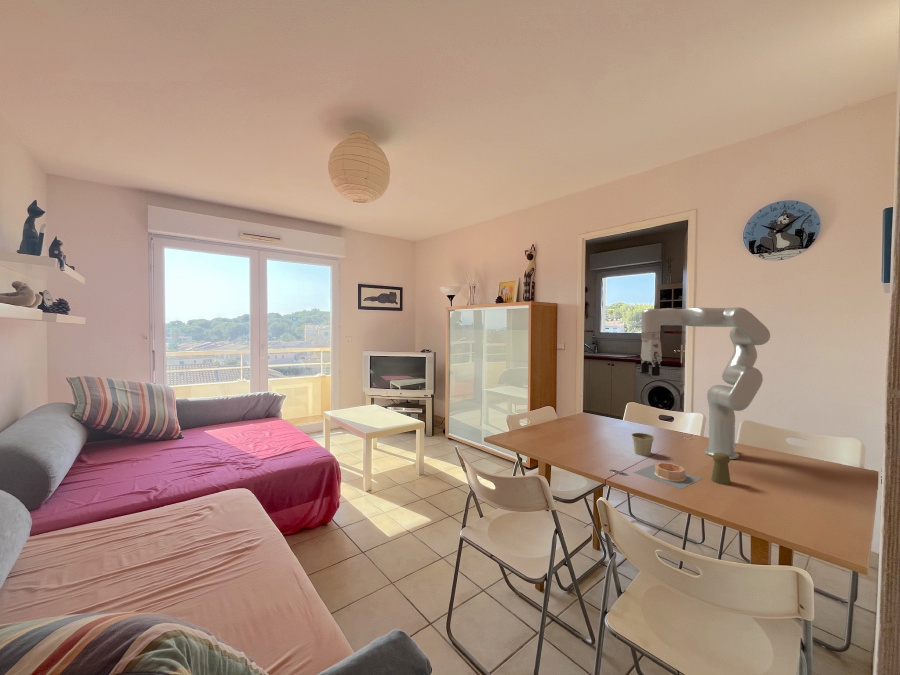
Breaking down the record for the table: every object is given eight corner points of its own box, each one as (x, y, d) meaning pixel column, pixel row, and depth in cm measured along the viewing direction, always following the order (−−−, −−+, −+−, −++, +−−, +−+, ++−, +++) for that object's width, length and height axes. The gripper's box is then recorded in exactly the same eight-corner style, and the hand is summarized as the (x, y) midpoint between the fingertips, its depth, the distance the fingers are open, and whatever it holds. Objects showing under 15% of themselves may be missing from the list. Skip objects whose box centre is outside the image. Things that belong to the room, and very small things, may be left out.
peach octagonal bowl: (663, 469, 153) (663, 460, 152) (690, 477, 144) (690, 468, 144) (649, 474, 147) (649, 465, 147) (676, 484, 138) (677, 474, 138)
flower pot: (658, 458, 166) (658, 439, 166) (637, 458, 166) (637, 439, 166) (647, 451, 175) (648, 432, 175) (627, 451, 176) (627, 432, 175)
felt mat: (655, 464, 158) (655, 464, 158) (702, 479, 143) (702, 478, 143) (633, 473, 149) (633, 472, 149) (681, 490, 134) (681, 488, 134)
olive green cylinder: (727, 480, 142) (727, 451, 142) (733, 486, 137) (734, 457, 136) (708, 478, 144) (709, 450, 144) (714, 484, 139) (714, 455, 138)
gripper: (669, 337, 159) (668, 376, 160) (649, 335, 177) (649, 371, 177) (651, 337, 160) (650, 376, 160) (633, 335, 177) (633, 371, 178)
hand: (650, 374), depth 169 cm, fingers open, 9 cm apart
